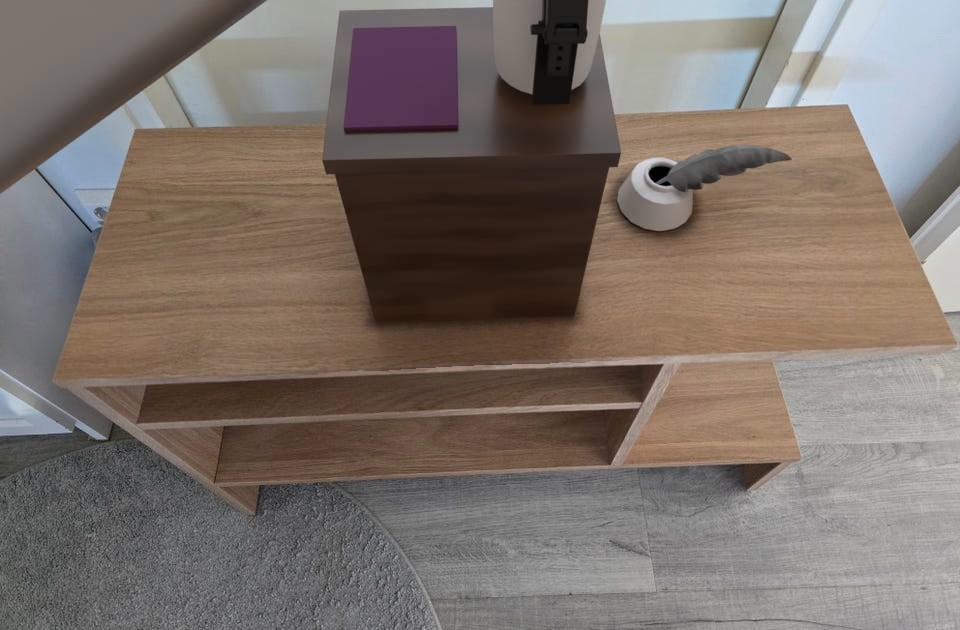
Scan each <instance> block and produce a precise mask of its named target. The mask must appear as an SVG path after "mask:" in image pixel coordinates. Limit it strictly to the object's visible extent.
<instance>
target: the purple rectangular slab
mask: <svg viewBox="0 0 960 630" xmlns="http://www.w3.org/2000/svg"><path fill="white" fill-rule="evenodd" d="M343 128H344V131H370V130H412V129H454V128H458V85H457V31H456V26H423V27H378V28H353V36H352V46H351V56H350V66H349V76H348V86H347V97H346V107H345V117H344V127H343Z"/></svg>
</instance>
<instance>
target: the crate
mask: <svg viewBox="0 0 960 630" xmlns="http://www.w3.org/2000/svg"><path fill="white" fill-rule="evenodd" d="M423 26H456V31H457V85H458V128H454V129H412V130H370V131H344V128H343V127H344V117H345V107H346V97H347V86H348V76H349V66H350V56H351V46H352V36H353V28H378V27H423ZM330 80H331V82H330V90H329V91H330V92H329V99H328V106H327V116H326V123H325V133H324V140H323V141H324V142H323V149H322V159H321V161H322V164H323V168H324V171H325V174H326V175H334V177H335V182H336V184H337V188H338V191H339V195H340V199H341V202H342V203H341V204H342V206H343V209H344V213H345V217H346V220H347V224H348V228H349V232H350V235H351V239H352V243H353V246H354V249H355V253H356V256H357V261H358V264H359V268H360V271H361V275H362V279H363V282H364V286H365V290H366V292H367V297H368V300H369V304H370V307H371V308H370V309H371V311H372V314H373V318H374V322H376V323H378V322H379V323H381V322H382V323H385V322H418V321H453V320H454V321H455V320H456V321H457V320H489V319H491V320H492V319H526V318H527V319H529V318H559V317H562V318H563V317H564V318H565V317H575V316H576V313H577V307H578V304H579V300H580V299H579V298H580V295H581V292H582V291H581V290H582V286H583V282H584V278H585V273H586V268H587V265H588V260H589V256H590V252H591V247H592V244H593V238H594V236H595V230H596V226H597V222H598V218H599V213H600V209H601V205H602V202H603V201H602V200H603V196H604V192H605V188H606V183H607V179H608V175H609V170H610V168H618V167H619V164H620V160H621V155H622V150H621V144H620V139H619V132H618V128H617V127H618V126H617V122H616V116H615V111H614V106H613V105H614V104H613V100H612V94H611V88H610V83H609V78H608V73H607V67H606V61H605V54H604V49H603V44H602V38H601V34H600V33H599V37H598V41H597V45H596V50H595V54H594V58H593V62H592V65H591V69H590V72H589V74H588V76H587V78H586V79H585V80H584V81H583V82H582V84H581V85H580V86H578V87H576V88H574V89H572V90H571V96H570V103H569V104H533V100H532V94H529V93H526V92H523V91H520V90H518V89H516V88H514V87H512V86H510V85H509V84H508V83H507V82H506V81H505V80H503V79H502V77H501V76H500V74H499V73H498V72H497V68H496V62H495V48H494V27H493V6H491V7H490V6H486V7H481V6H480V7H445V8H444V7H441V8H440V7H439V8H433V7H432V8H394V9H393V8H392V9H389V8H388V9H351V10H339V13H338V21H337V30H336V39H335V46H334V55H333V65H332V71H331V79H330Z"/></svg>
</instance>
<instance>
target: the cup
mask: <svg viewBox="0 0 960 630" xmlns="http://www.w3.org/2000/svg"><path fill="white" fill-rule="evenodd" d="M606 4H607V0H588V13H587V27H586V29H587V31H588V34H587V38H586V42H585V44H578V47H577V54H576V61H575V68H574V75H573V82H572V89H574V88H576V87H578V86H580V85H581V84H582V82H583V81H584V80H585V79H586V78H587V76H588V74H589V72H590V69H591V65H592V62H593V58H594V54H595V50H596V45H597V41H598V37H599V33H600V32H601V29H602V23H603V19H604V13H605V8H606ZM492 7H493V27H494V48H495V62H496V68H497V72H498V73H499V74H500V76H501V77H502V79H503V80H505V81H506V82H507V83H508V84H509V85H510V86H512V87H514V88H516V89H518V90H520V91H523V92H526V93H529V94H533V82H534V70H535V57H536V45H537V35H531V25H532V24H538V21H542V0H492ZM572 89H571V90H572Z"/></svg>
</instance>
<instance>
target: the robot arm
mask: <svg viewBox="0 0 960 630" xmlns="http://www.w3.org/2000/svg"><path fill="white" fill-rule="evenodd" d="M266 2H268V0H0V195H2V193H4V192H6V191H7V190H8V189H9V188H11V187H12V186H14V185H15V184H16V183H18V182H19V181H21V180H22V179H23V178H24V177H26V176H27V175H29V174H30V173H32V172H33V171H34V170H36V169H37V168H38V167H40V166H41V165H42V164H44V163H45V162H47V161H49V159H50V158H52V157H53V156H55V155H56V154H57V153H59V152H60V151H62V150H63V149H64V148H66V147H67V146H69V145H70V144H71V143H73V142H74V141H76V140H77V139H78V138H80V137H81V136H82V135H84V134H85V133H87V132H88V131H90V130H91V129H92V128H93V127H95V126H96V125H98V124H99V123H101V122H102V121H103V120H105V119H106V118H108V117H109V116H110V115H112V114H113V113H114V112H115V111H117V110H118V109H119V108H121V107H122V106H124V105H125V104H127V103H128V102H129V101H131V100H132V99H133V98H135V97H136V96H137V95H139V94H140V93H141V92H144V90H146V89H147V88H148V87H150V86H151V85H153V84H154V83H155V82H156V81H158V80H160V79H161V78H163V77H164V76H165V75H166V74H168V73H169V72H170V71H172V70H173V69H174V68H176V67H178V66H179V65H180V64H181V63H183V62H184V61H186V60H187V59H188V58H190V57H191V56H193V55H194V54H195V53H197V52H198V51H200V50H201V49H202V48H204V47H205V46H207V45H208V44H209V43H211V42H212V41H213V40H215V39H216V38H217V37H219V36H221V35H222V34H223V33H224V32H226V31H227V30H228V29H231V27H233V26H234V25H235V24H237V23H238V22H239V21H241V20H242V19H244V18H245V17H246V16H248V15H249V14H250V13H252V12H253V11H255V10H256V9H257V8H259V7H260V6H261V5H263V4H264V3H266ZM587 13H588V0H542V21H538V24H532V25H531V35H537V45H536V57H535V70H534V82H533V94H532V100H533V104H569V103H570V96H571V89H572V82H573V75H574V68H575V61H576V54H577V47H578V44H585V42H586V38H587V34H588V31H587V29H586V27H587Z"/></svg>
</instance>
